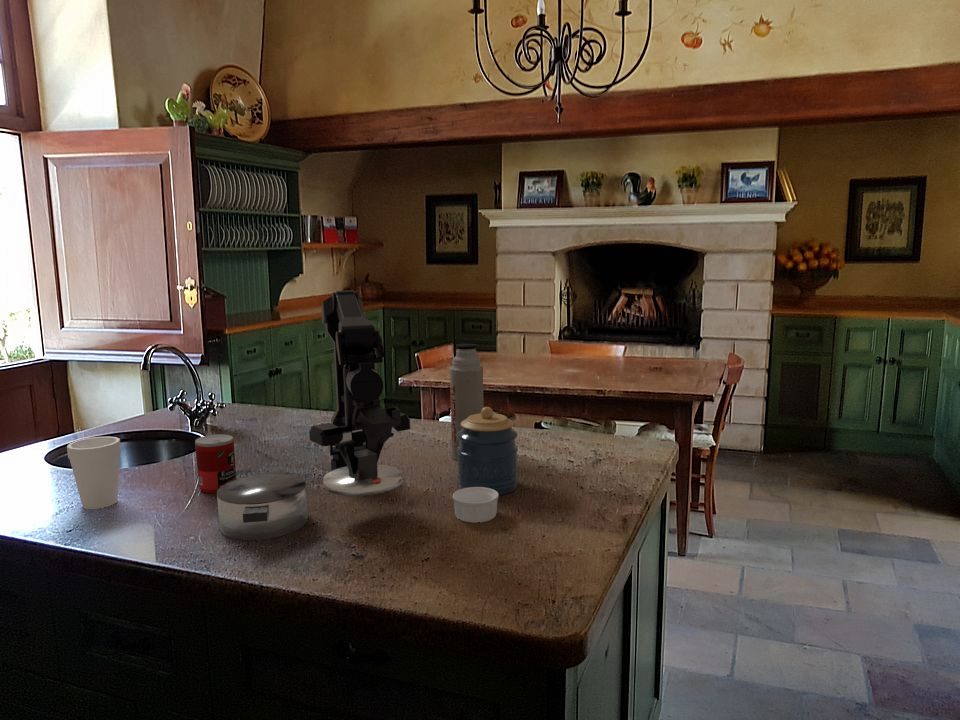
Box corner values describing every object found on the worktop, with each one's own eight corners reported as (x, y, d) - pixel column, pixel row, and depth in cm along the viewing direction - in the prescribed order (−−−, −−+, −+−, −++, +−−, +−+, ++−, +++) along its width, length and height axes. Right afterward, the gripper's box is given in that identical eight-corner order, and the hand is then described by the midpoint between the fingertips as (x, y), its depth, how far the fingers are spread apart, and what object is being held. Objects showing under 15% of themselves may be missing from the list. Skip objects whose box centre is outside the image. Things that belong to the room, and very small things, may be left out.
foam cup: (136, 498, 148) (130, 438, 146) (99, 514, 140) (92, 450, 138) (101, 493, 152) (94, 435, 149) (63, 509, 143) (56, 447, 141)
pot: (229, 505, 144) (227, 471, 143) (310, 498, 147) (308, 466, 146) (208, 551, 122) (205, 513, 121) (304, 543, 125) (302, 505, 124)
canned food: (225, 494, 150) (221, 444, 148) (191, 492, 152) (187, 442, 150) (243, 482, 157) (240, 434, 156) (211, 481, 159) (207, 433, 157)
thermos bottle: (452, 462, 170) (450, 347, 166) (451, 452, 178) (448, 342, 173) (485, 461, 171) (484, 346, 166) (482, 451, 179) (481, 341, 174)
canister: (526, 481, 156) (526, 403, 153) (503, 501, 144) (503, 416, 141) (473, 474, 161) (472, 398, 158) (447, 492, 150) (445, 411, 147)
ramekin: (465, 528, 131) (464, 505, 130) (445, 512, 139) (444, 491, 138) (507, 519, 135) (506, 497, 134) (485, 504, 143) (485, 483, 142)
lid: (377, 464, 146) (376, 438, 145) (418, 483, 134) (417, 454, 133) (309, 480, 136) (308, 452, 136) (347, 501, 125) (345, 470, 124)
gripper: (334, 406, 120) (338, 493, 123) (425, 390, 132) (427, 471, 134) (306, 395, 129) (310, 477, 132) (393, 382, 141) (396, 458, 143)
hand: (363, 471), depth 135 cm, fingers closed on lid, 4 cm apart
